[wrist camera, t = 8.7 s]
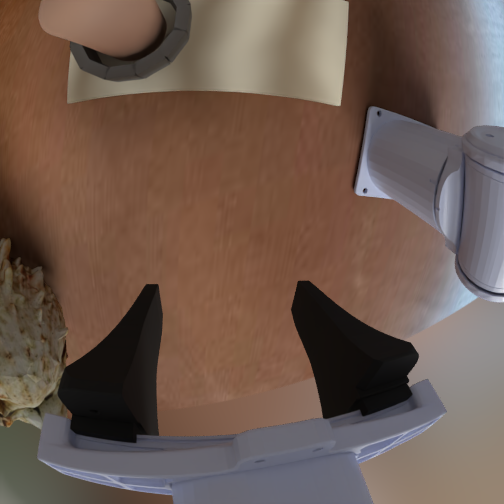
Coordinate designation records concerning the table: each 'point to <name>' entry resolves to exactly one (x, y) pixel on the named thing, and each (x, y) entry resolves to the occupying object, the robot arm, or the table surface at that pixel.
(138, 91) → the holder board
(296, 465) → the robot arm
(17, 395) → the seashell
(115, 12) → the peg
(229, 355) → the table surface
